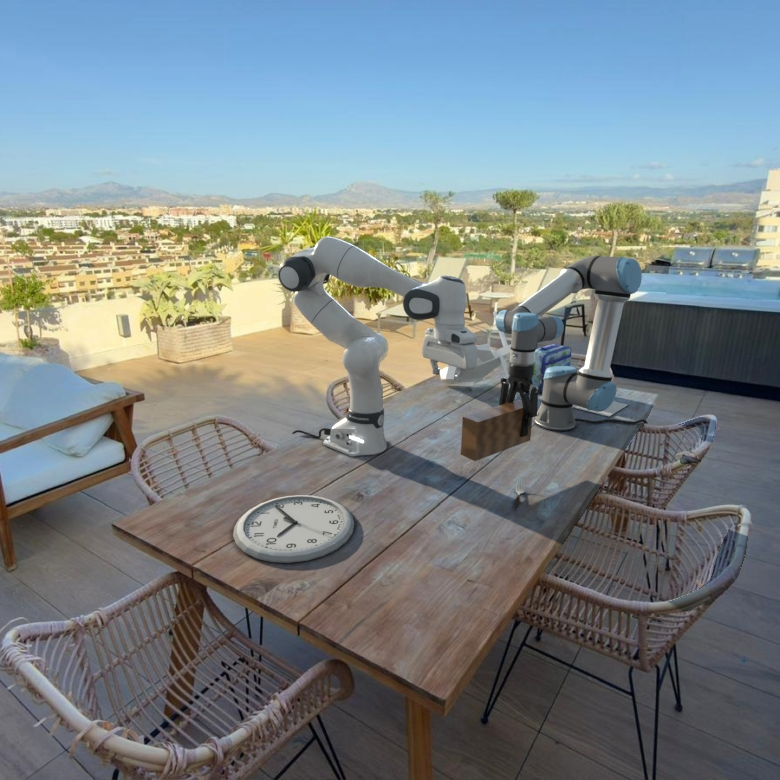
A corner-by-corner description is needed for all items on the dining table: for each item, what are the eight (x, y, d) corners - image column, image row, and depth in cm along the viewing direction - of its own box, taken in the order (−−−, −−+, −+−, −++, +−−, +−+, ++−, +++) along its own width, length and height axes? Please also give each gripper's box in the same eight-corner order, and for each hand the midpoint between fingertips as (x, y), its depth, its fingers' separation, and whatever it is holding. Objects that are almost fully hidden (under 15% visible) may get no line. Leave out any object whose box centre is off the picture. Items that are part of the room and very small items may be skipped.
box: (515, 434, 174) (518, 399, 171) (530, 440, 170) (533, 404, 166) (460, 454, 159) (462, 416, 155) (475, 461, 155) (477, 422, 151)
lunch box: (543, 396, 238) (548, 352, 231) (522, 391, 245) (526, 347, 239) (570, 385, 255) (575, 343, 249) (550, 381, 262) (555, 340, 256)
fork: (509, 511, 141) (510, 504, 140) (517, 485, 155) (517, 479, 155) (519, 513, 140) (520, 506, 139) (526, 487, 154) (526, 481, 154)
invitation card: (608, 416, 214) (573, 407, 224) (608, 416, 214) (573, 408, 224) (628, 404, 229) (594, 396, 238) (628, 405, 229) (594, 397, 238)
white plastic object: (461, 429, 252) (437, 405, 227) (444, 352, 274) (420, 323, 250) (535, 404, 240) (518, 377, 215) (510, 326, 262) (492, 293, 237)
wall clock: (355, 554, 119) (220, 559, 116) (355, 560, 119) (221, 565, 117) (353, 490, 147) (244, 493, 145) (353, 495, 148) (245, 498, 145)
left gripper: (417, 328, 160) (416, 371, 164) (466, 339, 144) (463, 387, 149) (433, 326, 163) (431, 368, 168) (482, 337, 148) (478, 383, 152)
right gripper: (490, 359, 167) (485, 426, 174) (539, 372, 153) (532, 444, 160) (505, 355, 171) (500, 421, 178) (555, 368, 157) (547, 439, 164)
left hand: (446, 377), depth 158 cm, fingers open, 8 cm apart
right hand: (515, 432), depth 169 cm, fingers closed on box, 6 cm apart
